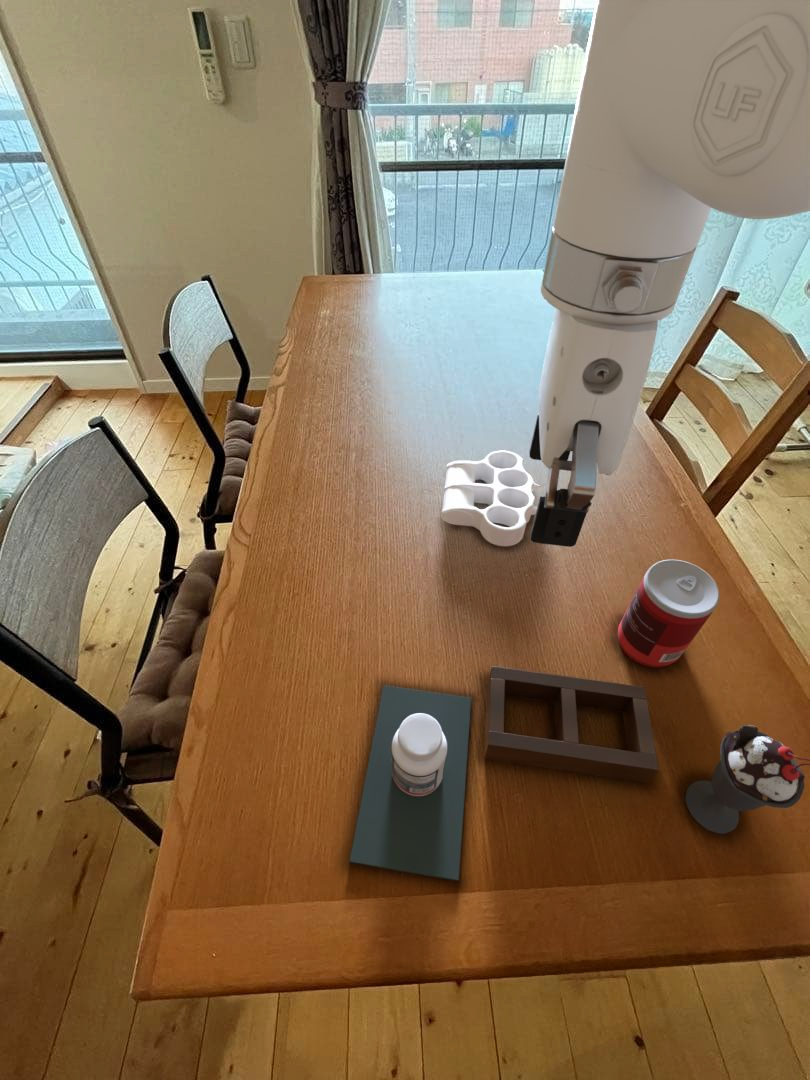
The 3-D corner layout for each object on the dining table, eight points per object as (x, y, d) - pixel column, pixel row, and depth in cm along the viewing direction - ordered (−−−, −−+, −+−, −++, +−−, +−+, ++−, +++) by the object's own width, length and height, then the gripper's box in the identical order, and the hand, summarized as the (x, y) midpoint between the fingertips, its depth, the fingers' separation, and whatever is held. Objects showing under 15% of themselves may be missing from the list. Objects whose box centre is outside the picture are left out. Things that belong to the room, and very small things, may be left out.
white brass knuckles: (447, 461, 91) (537, 470, 90) (439, 540, 79) (542, 550, 78) (449, 445, 89) (541, 453, 88) (440, 523, 76) (547, 534, 75)
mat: (458, 881, 50) (458, 880, 50) (349, 862, 51) (349, 861, 50) (471, 699, 62) (471, 697, 62) (383, 686, 63) (383, 684, 63)
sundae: (751, 854, 52) (847, 798, 41) (676, 828, 53) (749, 768, 42) (746, 785, 56) (831, 718, 45) (676, 763, 58) (743, 693, 47)
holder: (646, 783, 56) (658, 770, 54) (484, 758, 58) (488, 744, 55) (634, 702, 62) (644, 686, 60) (487, 681, 64) (491, 665, 61)
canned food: (688, 634, 69) (728, 577, 61) (670, 682, 64) (710, 627, 56) (628, 605, 72) (658, 548, 64) (606, 649, 67) (635, 593, 59)
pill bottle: (411, 735, 59) (413, 695, 52) (453, 764, 57) (461, 725, 50) (381, 776, 56) (379, 739, 49) (424, 808, 54) (429, 774, 47)
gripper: (720, 350, 25) (610, 589, 37) (656, 223, 37) (589, 437, 49) (550, 336, 25) (498, 575, 38) (541, 216, 37) (504, 428, 50)
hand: (549, 497), depth 43 cm, fingers open, 9 cm apart
